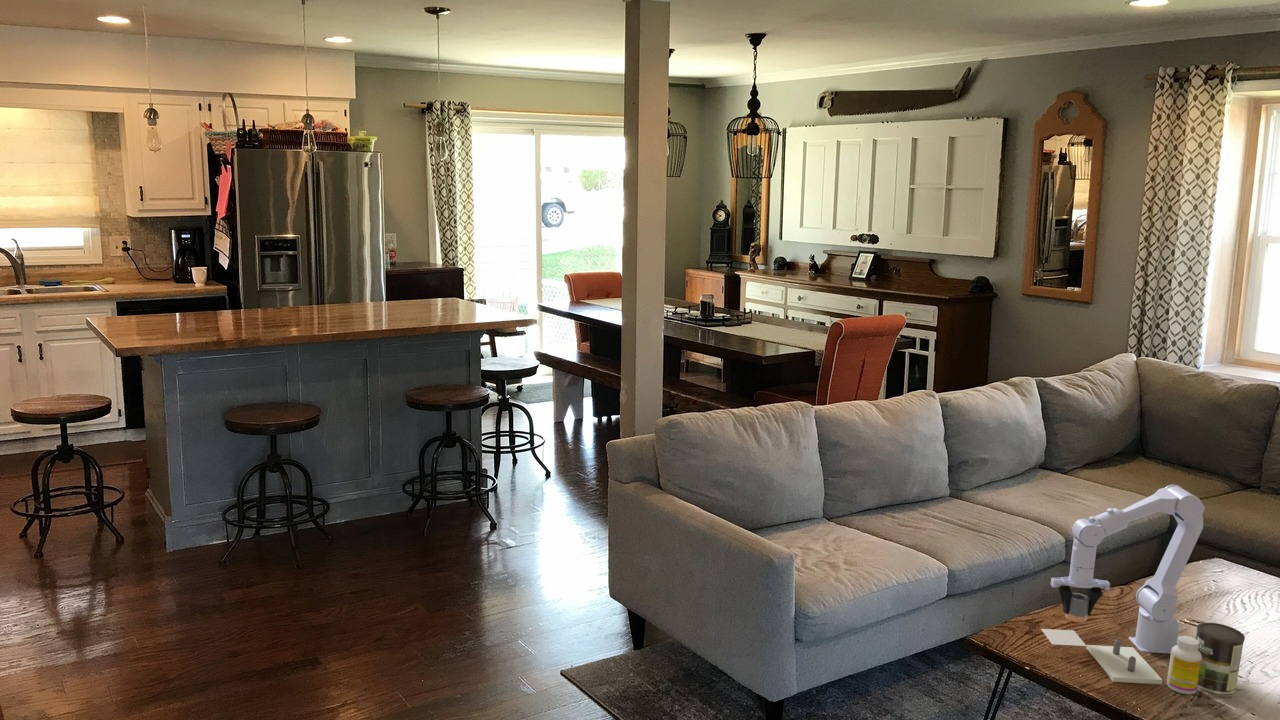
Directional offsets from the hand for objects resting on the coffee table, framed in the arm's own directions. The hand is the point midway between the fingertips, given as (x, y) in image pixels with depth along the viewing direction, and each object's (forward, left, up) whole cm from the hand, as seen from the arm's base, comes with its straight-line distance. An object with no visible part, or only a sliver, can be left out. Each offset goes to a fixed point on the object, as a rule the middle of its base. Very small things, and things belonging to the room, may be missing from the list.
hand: (1076, 612), depth 265 cm
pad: (+2, -3, -9) cm, 9 cm away
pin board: (-8, +11, -9) cm, 17 cm away
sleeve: (0, 0, -1) cm, 1 cm away
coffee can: (-27, +18, -9) cm, 34 cm away
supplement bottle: (-18, +21, -9) cm, 30 cm away
